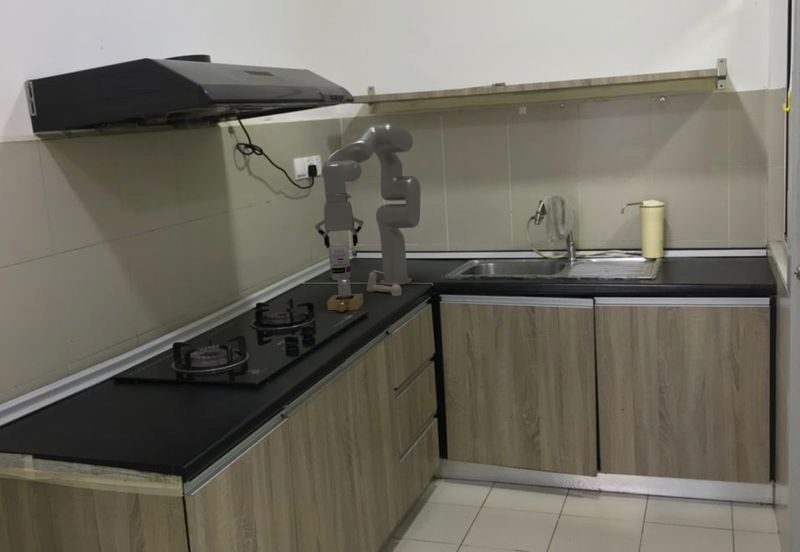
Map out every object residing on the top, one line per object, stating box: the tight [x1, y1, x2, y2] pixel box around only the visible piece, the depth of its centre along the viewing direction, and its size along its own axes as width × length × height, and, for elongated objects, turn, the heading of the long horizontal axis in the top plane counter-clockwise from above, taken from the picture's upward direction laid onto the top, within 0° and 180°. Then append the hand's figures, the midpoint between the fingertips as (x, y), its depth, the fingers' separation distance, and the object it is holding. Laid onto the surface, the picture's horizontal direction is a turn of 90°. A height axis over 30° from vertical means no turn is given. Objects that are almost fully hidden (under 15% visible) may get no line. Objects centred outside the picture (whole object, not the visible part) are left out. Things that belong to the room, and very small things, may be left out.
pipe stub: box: [337, 278, 352, 300], centre depth 302 cm, size 4×4×10 cm
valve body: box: [326, 292, 364, 312], centre depth 302 cm, size 19×11×4 cm, turn 175°
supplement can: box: [328, 242, 352, 281], centre depth 359 cm, size 8×8×15 cm
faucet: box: [366, 269, 402, 297], centre depth 322 cm, size 4×18×10 cm, turn 42°
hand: (341, 246), depth 303 cm, fingers open, 9 cm apart
